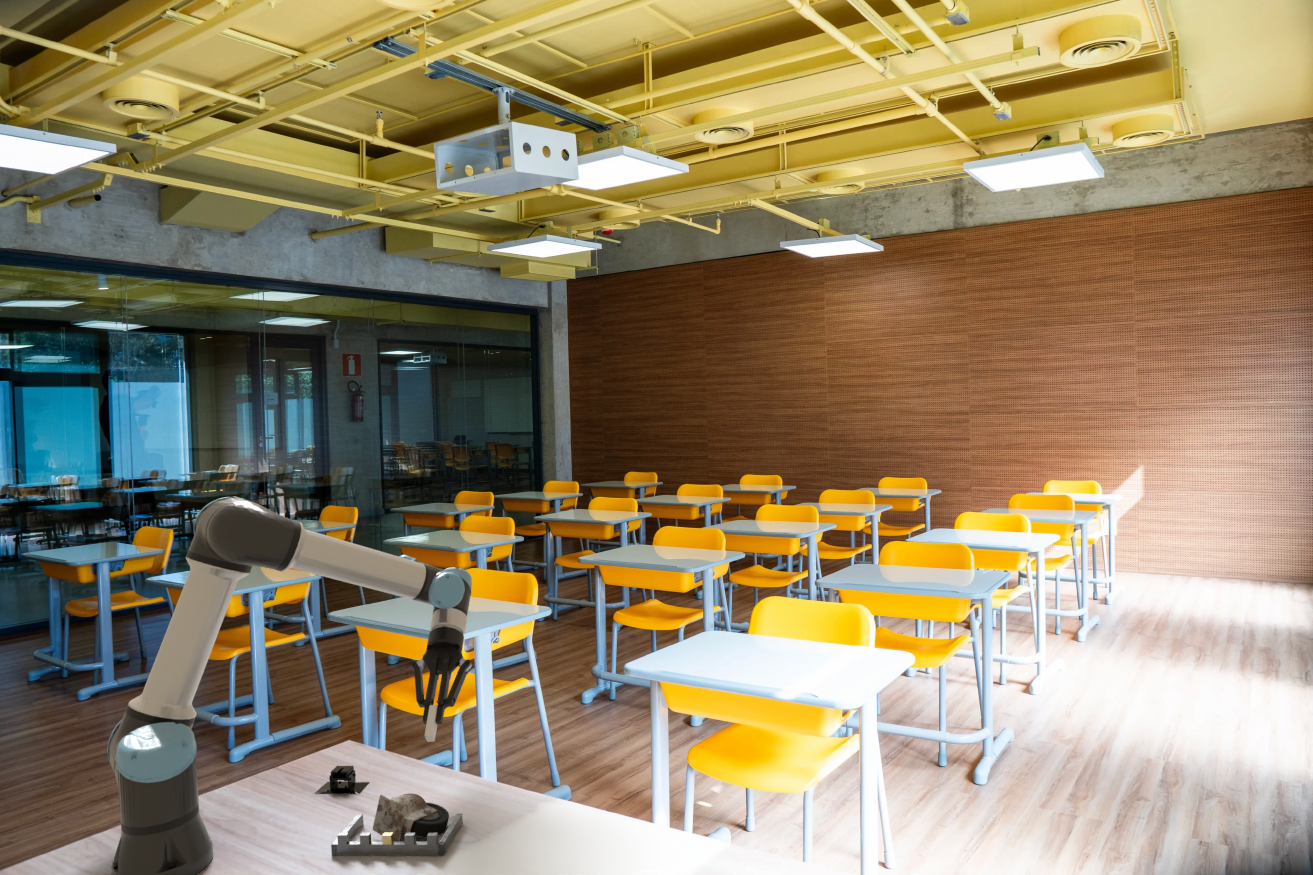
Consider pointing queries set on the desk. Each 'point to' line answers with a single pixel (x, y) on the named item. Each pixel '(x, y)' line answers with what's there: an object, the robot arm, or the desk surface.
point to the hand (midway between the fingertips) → (429, 738)
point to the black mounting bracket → (339, 786)
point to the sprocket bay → (392, 842)
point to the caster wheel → (409, 816)
